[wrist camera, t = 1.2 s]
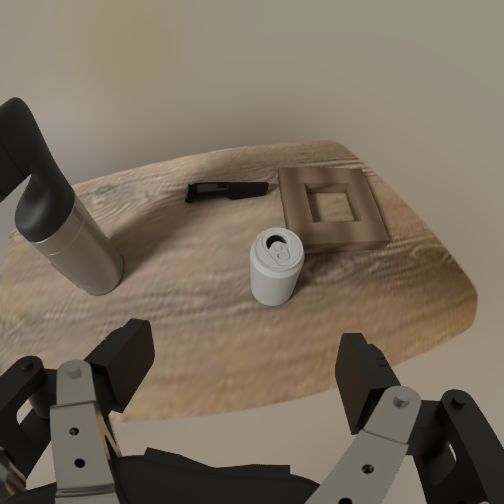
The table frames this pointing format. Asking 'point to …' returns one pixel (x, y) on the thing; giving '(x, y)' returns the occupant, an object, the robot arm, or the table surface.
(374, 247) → the hole board
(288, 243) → the beverage can
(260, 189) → the electric trimmer
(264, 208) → the table surface
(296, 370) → the table surface
